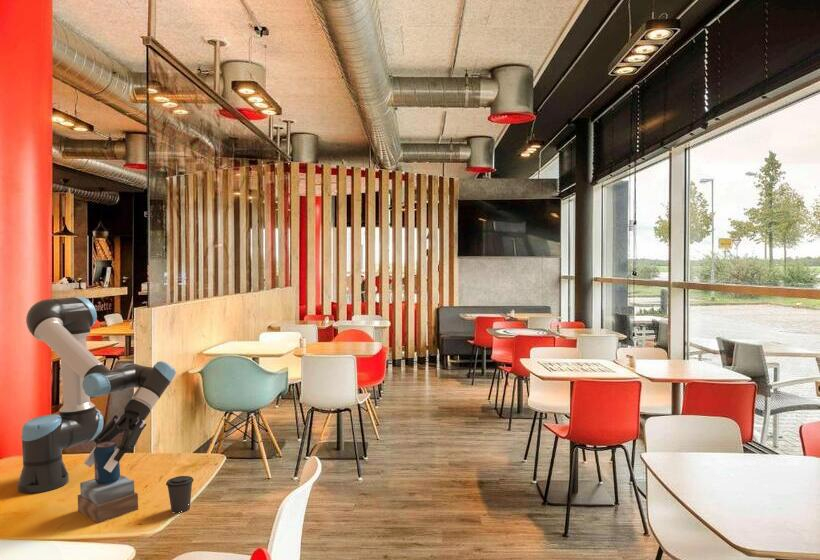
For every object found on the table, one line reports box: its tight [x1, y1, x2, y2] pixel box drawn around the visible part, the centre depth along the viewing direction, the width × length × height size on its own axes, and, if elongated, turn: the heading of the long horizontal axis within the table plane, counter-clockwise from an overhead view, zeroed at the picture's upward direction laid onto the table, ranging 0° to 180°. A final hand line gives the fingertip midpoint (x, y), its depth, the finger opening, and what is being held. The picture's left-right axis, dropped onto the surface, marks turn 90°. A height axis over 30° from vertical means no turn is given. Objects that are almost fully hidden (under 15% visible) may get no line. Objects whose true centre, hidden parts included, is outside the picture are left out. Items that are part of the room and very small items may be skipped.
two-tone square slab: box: [77, 474, 139, 524], centre depth 184 cm, size 14×12×9 cm
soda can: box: [93, 440, 121, 485], centre depth 183 cm, size 7×7×12 cm
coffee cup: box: [165, 475, 195, 514], centre depth 183 cm, size 8×8×10 cm
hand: (97, 467), depth 180 cm, fingers open, 9 cm apart
